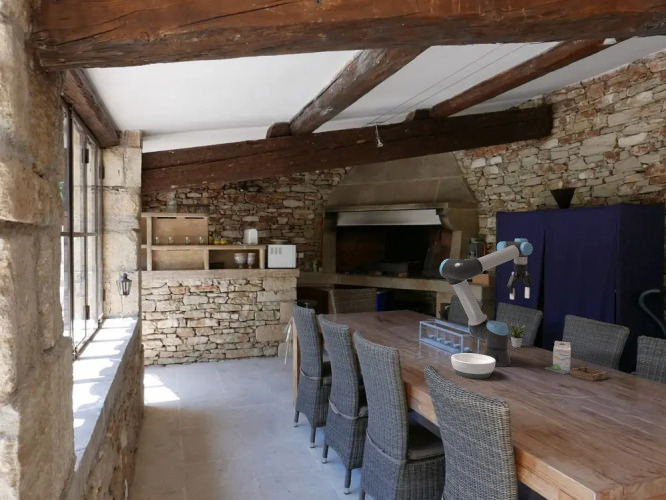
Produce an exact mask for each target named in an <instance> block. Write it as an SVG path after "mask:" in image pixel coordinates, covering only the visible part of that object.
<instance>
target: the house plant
mask: <svg viewBox="0 0 666 500" xmlns="http://www.w3.org/2000/svg"><path fill="white" fill-rule="evenodd" d="M504 323H505V322H504ZM518 323H519V322H517V324H516V327H515V325H514V324H513V323H511V324H508V325H509V326H508V327H509V328H510V330H508V331H509V332H508V334H511V335H512V336H510V340H511V347H512V346H513V348H517V347H519V348H521V347H522V342H523V336H525V333H526V331H525V330H522V329H524V328H525V327H526V324H524V325H523V326H522V327H520V326H521V324H522V323H521V324H520V325H519V324H518ZM505 324H506V323H505ZM522 335H523V336H522Z"/></svg>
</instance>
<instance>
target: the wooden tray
mask: <svg viewBox="0 0 666 500" xmlns="http://www.w3.org/2000/svg"><path fill="white" fill-rule="evenodd" d="M569 376H573V377H576V378H580V379H583V380H587V381H590V382H596V381H601V380H604V379H608V371H604V370H601V369H596V368H592V367H588V366H580V367H575V368H570V373H569Z"/></svg>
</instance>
